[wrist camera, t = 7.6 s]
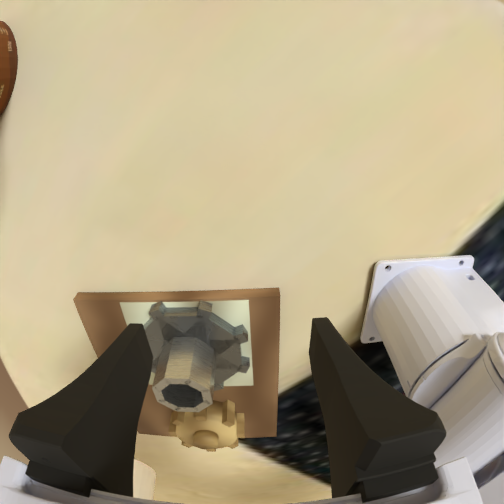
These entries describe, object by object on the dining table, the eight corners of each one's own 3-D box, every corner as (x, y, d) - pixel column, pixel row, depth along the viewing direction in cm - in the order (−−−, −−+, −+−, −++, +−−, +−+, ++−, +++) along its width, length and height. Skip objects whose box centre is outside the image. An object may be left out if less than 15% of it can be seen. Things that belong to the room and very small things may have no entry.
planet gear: (245, 298, 23) (246, 350, 18) (251, 381, 27) (252, 429, 23) (121, 301, 23) (99, 348, 18) (149, 380, 27) (139, 425, 23)
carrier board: (278, 287, 24) (285, 329, 20) (275, 429, 33) (278, 462, 29) (77, 292, 24) (55, 328, 20) (140, 426, 33) (133, 457, 29)
